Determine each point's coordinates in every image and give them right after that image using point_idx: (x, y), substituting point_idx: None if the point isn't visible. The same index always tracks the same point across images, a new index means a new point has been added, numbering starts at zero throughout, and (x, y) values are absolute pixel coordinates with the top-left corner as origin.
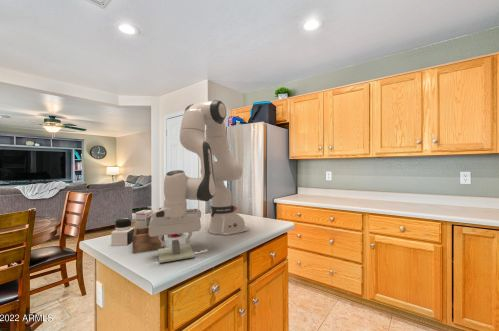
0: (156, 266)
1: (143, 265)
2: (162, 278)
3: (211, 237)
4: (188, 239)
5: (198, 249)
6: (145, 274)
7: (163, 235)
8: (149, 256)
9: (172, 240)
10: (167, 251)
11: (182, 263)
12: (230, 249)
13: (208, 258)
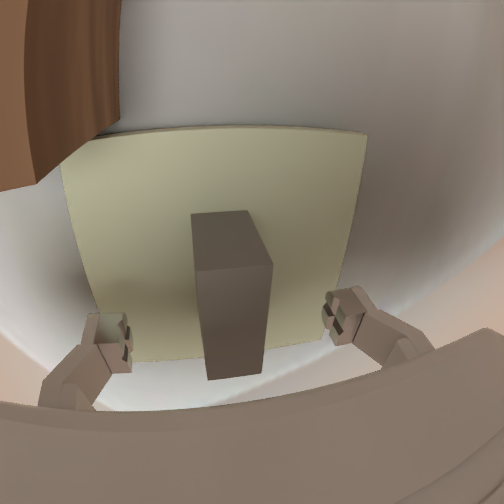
0: None
1: (44, 328)
2: None
3: (499, 29)
4: (353, 339)
5: (388, 196)
6: None
7: (50, 166)
8: (24, 210)
9: (201, 284)
10: (149, 243)
11: None
12: (472, 259)
13: None
